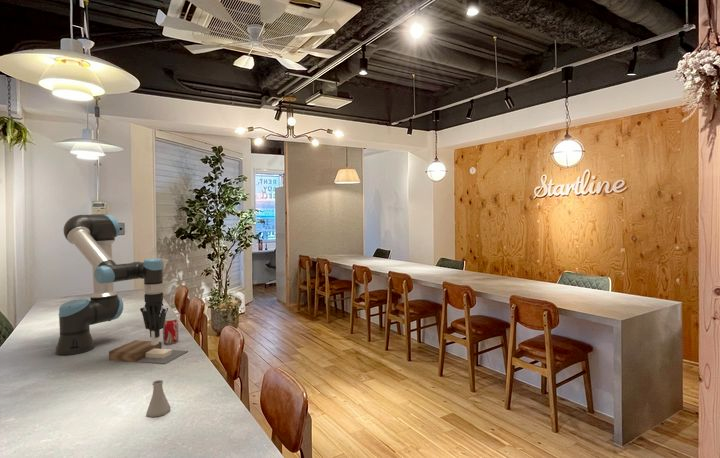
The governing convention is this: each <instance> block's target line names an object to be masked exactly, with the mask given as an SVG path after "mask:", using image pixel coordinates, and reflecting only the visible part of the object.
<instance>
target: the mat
mask: <svg viewBox="0 0 720 458" xmlns="http://www.w3.org/2000/svg"><path fill="white" fill-rule="evenodd" d="M188 352H189V351H188V350H178V349H172V354H171V355H169V356H167V357H165V358H149V357H145V358H142V359H140V360H138V361H137V362H136V363H143V364H158V365H166V364H168V363H170V362H172V361H173V360H176V359H177V358H179V357H181V356H184V354H186V353H188Z"/></svg>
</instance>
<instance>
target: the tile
mask: <svg viewBox="0 0 720 458" xmlns="http://www.w3.org/2000/svg"><path fill="white" fill-rule="evenodd" d="M172 350H173V349H169V348H161V349H152V350H150V351H148V352H146V353H145V357H149V358H165V357H167V356H169V355H171V354H172Z"/></svg>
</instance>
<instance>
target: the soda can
mask: <svg viewBox="0 0 720 458" xmlns="http://www.w3.org/2000/svg"><path fill="white" fill-rule="evenodd" d="M162 339H163V340H162V341H163V343H164V344H165V345H172V344H173V345H174V344H176V343H177V342H179V321H178V319H177V317H167V318H165V323H164V328H162Z"/></svg>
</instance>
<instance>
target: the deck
mask: <svg viewBox="0 0 720 458" xmlns="http://www.w3.org/2000/svg"><path fill="white" fill-rule="evenodd" d="M158 343H159V344H156V345H151V340H138V339H137V340H136V339H135V340H133V341H130V342H128V343H125V344H122V345H121V346H119V347H116V348H113V349H111V350H108V360H109V361H116V362H130V363H138V362H137V361H138V360H140V359H142V358H145V353H146V352H148V351H150V350H152V349H162V341H158Z"/></svg>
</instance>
